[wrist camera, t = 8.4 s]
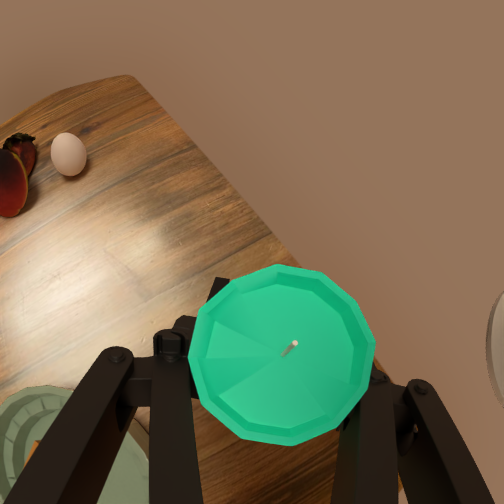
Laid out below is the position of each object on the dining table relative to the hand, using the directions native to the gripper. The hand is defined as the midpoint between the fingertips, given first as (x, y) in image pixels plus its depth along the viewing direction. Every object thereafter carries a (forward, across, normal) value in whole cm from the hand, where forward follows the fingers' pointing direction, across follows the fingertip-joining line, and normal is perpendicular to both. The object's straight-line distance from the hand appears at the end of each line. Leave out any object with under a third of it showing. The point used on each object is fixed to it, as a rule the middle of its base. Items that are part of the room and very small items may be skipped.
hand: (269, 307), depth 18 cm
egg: (+28, -30, +3) cm, 41 cm away
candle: (0, 0, -5) cm, 5 cm away
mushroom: (+26, -42, +1) cm, 50 cm away
